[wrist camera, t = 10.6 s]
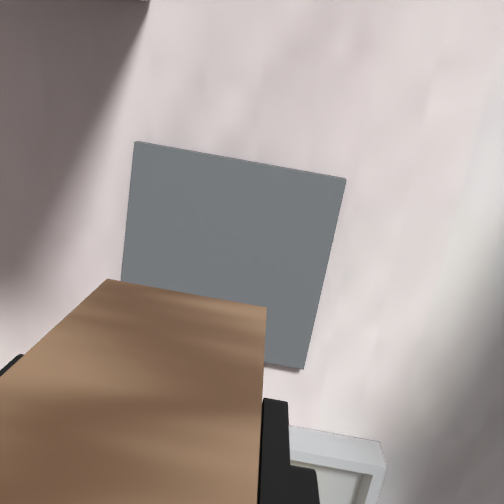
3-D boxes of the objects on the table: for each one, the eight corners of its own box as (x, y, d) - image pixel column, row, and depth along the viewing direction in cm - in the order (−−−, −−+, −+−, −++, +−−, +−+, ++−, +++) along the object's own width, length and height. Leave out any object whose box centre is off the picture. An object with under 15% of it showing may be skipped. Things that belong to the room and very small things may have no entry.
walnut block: (266, 307, 13) (239, 837, 3) (240, 443, 14) (164, 1122, 5) (107, 278, 13) (-379, 725, 3) (94, 417, 14) (-290, 1037, 5)
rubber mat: (344, 178, 22) (346, 179, 22) (302, 363, 25) (303, 369, 24) (138, 141, 22) (134, 141, 22) (119, 329, 25) (115, 334, 24)
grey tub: (379, 442, 26) (387, 467, 24) (346, 555, 28) (351, 587, 26) (234, 415, 26) (230, 438, 24) (212, 530, 28) (208, 560, 26)
